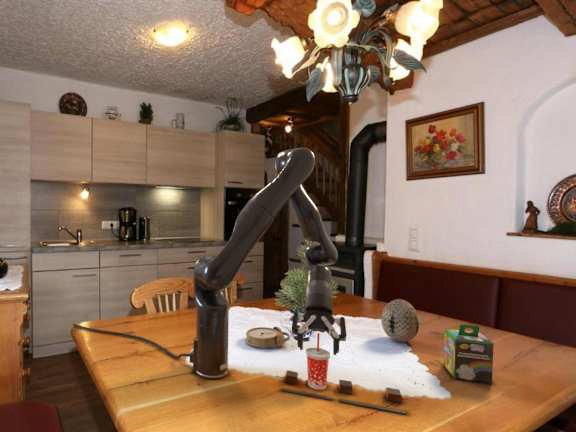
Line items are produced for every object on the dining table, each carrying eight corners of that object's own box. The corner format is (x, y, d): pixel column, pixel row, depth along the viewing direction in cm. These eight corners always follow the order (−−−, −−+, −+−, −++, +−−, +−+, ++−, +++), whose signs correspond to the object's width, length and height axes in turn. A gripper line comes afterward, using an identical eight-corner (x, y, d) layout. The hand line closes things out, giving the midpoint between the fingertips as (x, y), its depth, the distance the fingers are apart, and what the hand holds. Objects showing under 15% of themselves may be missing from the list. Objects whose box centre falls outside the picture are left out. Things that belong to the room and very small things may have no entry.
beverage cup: (326, 393, 90) (328, 339, 89) (302, 387, 93) (303, 334, 93) (331, 383, 95) (332, 332, 95) (308, 377, 98) (309, 328, 98)
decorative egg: (424, 342, 125) (426, 301, 125) (408, 350, 119) (410, 305, 118) (390, 332, 135) (392, 293, 135) (374, 338, 128) (375, 298, 128)
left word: (281, 391, 91) (281, 383, 91) (284, 377, 98) (284, 370, 98) (331, 400, 87) (332, 392, 87) (330, 385, 94) (331, 377, 94)
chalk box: (478, 370, 105) (480, 320, 104) (493, 384, 96) (495, 331, 96) (442, 365, 108) (443, 317, 107) (453, 378, 99) (455, 326, 99)
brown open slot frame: (340, 402, 86) (340, 394, 86) (338, 386, 94) (339, 379, 94) (406, 414, 81) (406, 406, 81) (399, 397, 89) (399, 389, 89)
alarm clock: (244, 327, 129) (285, 322, 128) (246, 341, 129) (287, 335, 128) (246, 339, 118) (291, 333, 117) (248, 353, 118) (293, 348, 117)
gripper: (293, 289, 105) (289, 341, 95) (345, 294, 100) (347, 349, 90) (294, 302, 110) (290, 353, 100) (344, 307, 105) (345, 361, 95)
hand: (317, 351), depth 95 cm, fingers open, 8 cm apart
